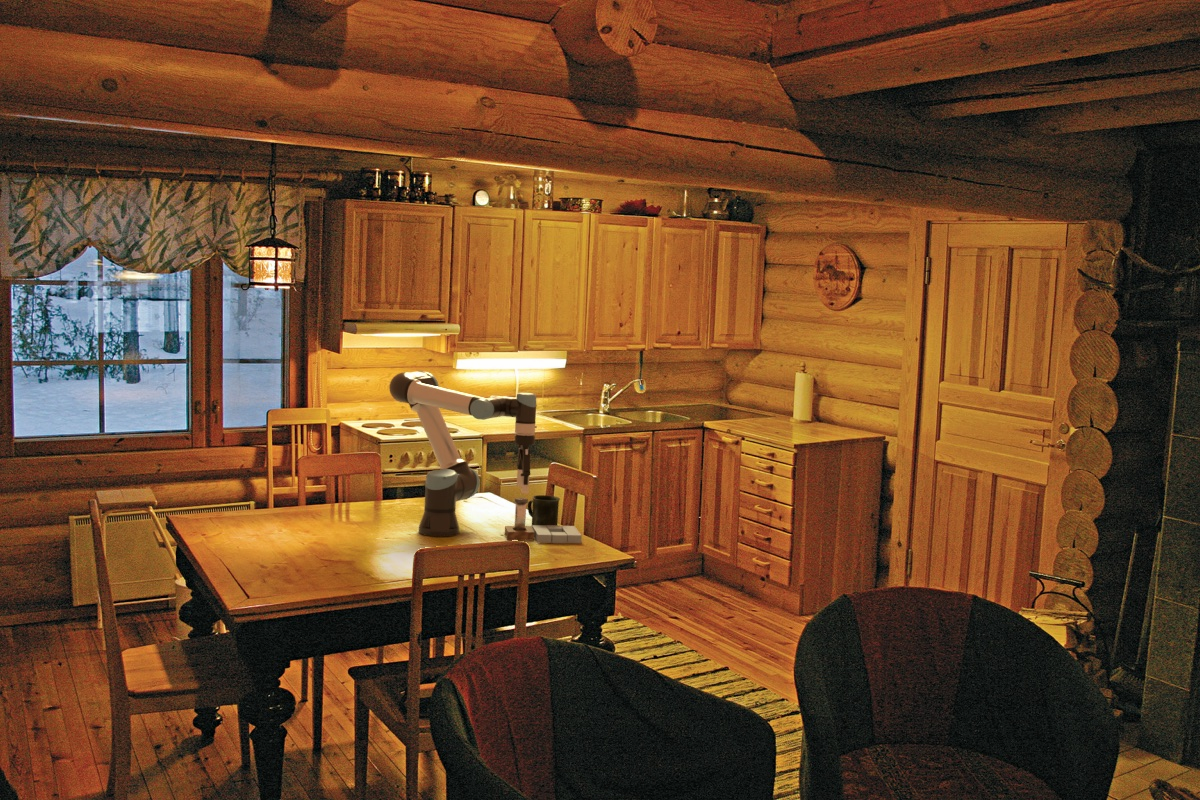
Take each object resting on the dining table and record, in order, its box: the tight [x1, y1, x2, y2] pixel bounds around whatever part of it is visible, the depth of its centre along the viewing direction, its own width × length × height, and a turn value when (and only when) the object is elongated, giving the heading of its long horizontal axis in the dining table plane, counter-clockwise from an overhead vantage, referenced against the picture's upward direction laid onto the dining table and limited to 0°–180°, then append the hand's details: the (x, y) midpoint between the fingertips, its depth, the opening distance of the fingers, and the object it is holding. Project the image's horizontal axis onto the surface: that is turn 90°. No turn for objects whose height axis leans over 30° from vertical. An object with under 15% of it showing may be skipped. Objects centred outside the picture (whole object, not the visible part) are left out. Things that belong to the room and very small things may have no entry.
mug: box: [527, 494, 561, 526], centre depth 424 cm, size 11×15×12 cm
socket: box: [531, 524, 582, 544], centre depth 407 cm, size 17×17×3 cm
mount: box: [504, 525, 535, 541], centre depth 405 cm, size 10×10×3 cm
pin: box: [514, 497, 529, 531], centre depth 404 cm, size 5×5×15 cm
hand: (522, 489), depth 403 cm, fingers open, 13 cm apart
